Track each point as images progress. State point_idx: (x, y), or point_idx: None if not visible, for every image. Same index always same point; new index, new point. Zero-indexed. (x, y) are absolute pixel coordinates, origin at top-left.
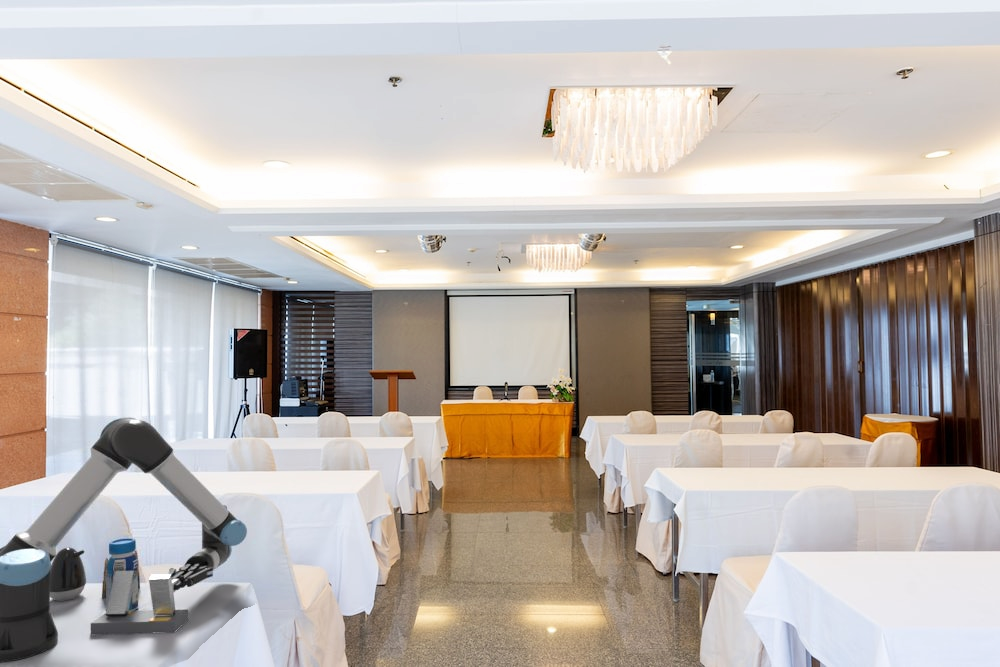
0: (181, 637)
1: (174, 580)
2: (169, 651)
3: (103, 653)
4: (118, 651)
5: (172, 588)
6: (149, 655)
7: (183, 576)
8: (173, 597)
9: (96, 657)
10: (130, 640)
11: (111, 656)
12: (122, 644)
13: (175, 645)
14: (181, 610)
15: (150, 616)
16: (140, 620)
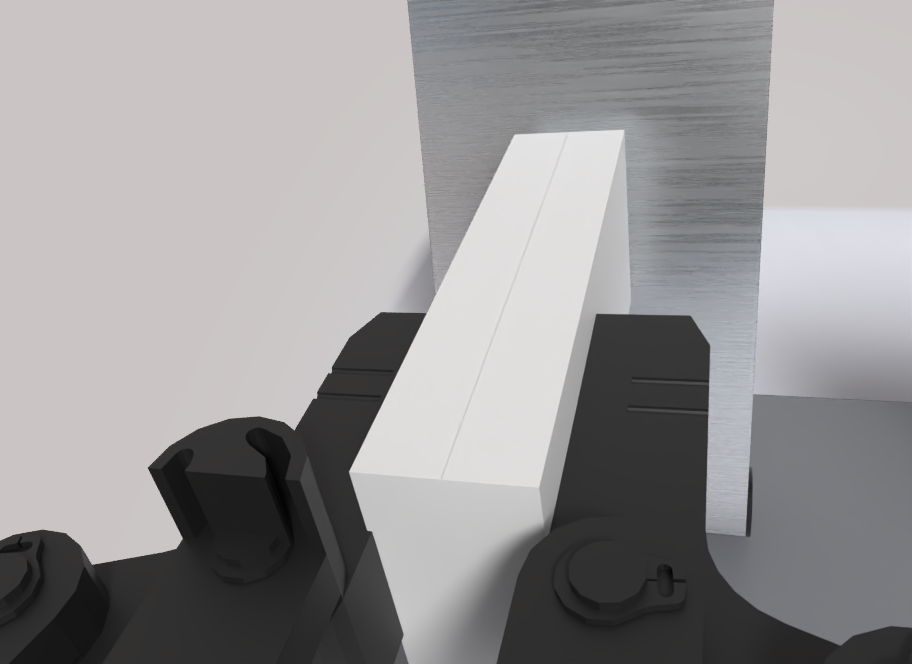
0: None
1: (464, 362)
2: (429, 249)
3: (903, 248)
4: (799, 262)
5: (421, 121)
6: None
7: (181, 456)
8: (438, 286)
9: (908, 217)
10: (830, 386)
11: (800, 222)
12: (853, 336)
13: (404, 298)
14: (399, 659)
15: (812, 527)
16: (877, 434)
